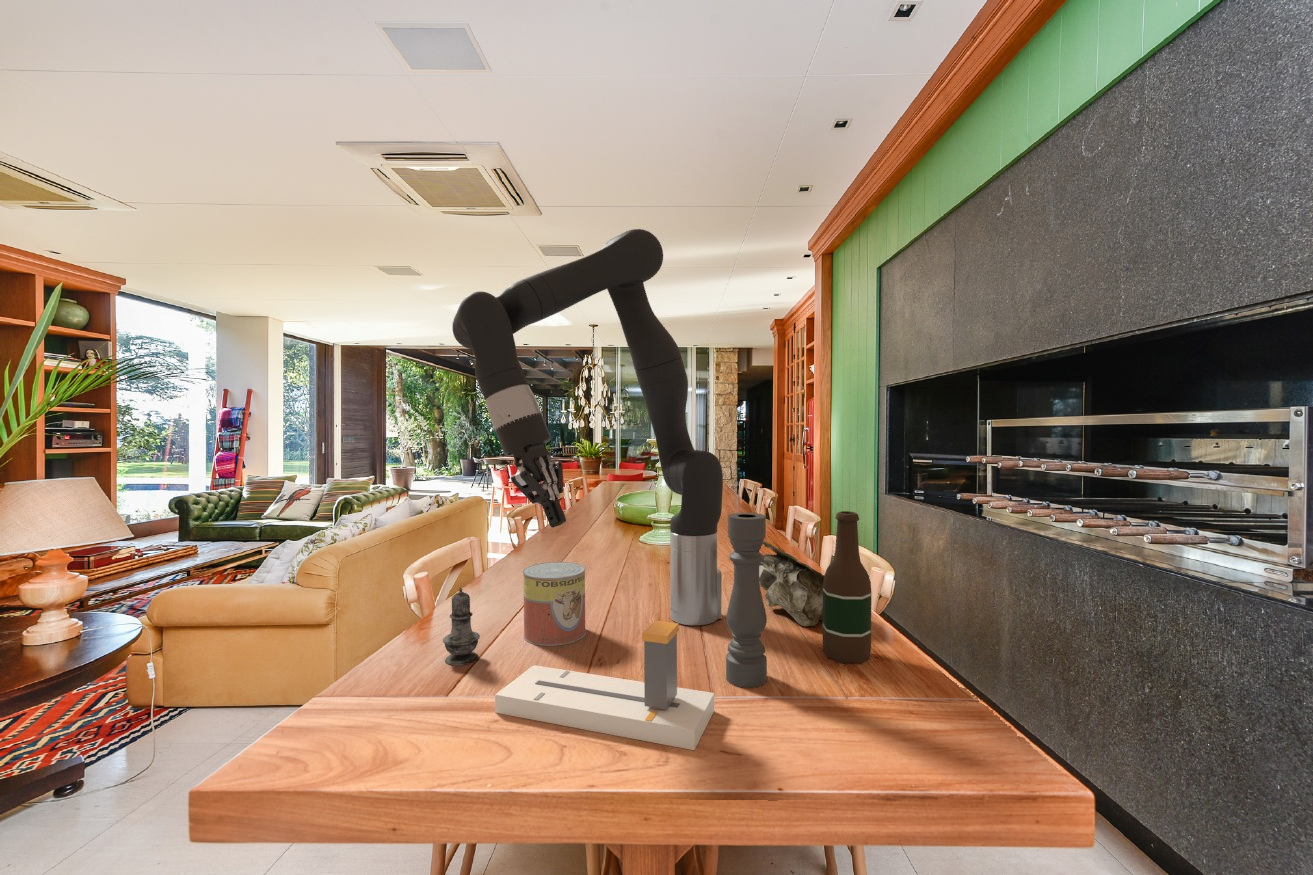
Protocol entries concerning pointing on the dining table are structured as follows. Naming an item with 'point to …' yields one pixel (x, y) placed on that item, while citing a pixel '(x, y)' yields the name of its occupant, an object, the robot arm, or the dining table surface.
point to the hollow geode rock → (792, 586)
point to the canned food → (554, 603)
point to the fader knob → (660, 664)
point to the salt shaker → (461, 632)
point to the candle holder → (746, 602)
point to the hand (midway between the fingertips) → (559, 524)
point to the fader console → (605, 706)
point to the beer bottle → (847, 597)
